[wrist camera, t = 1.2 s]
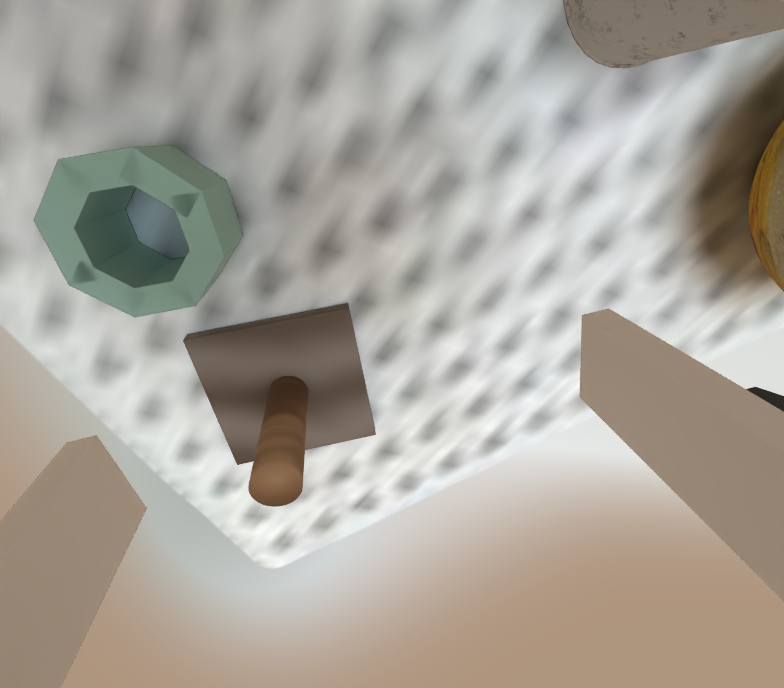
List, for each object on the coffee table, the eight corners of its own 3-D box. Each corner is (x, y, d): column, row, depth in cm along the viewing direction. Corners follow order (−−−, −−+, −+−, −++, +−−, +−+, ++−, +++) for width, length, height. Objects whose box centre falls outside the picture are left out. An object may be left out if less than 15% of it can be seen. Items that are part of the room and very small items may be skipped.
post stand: (187, 334, 30) (121, 428, 20) (347, 303, 31) (359, 378, 21) (239, 456, 36) (207, 575, 26) (374, 427, 36) (393, 532, 27)
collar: (74, 161, 24) (5, 167, 19) (213, 138, 25) (183, 138, 20) (134, 290, 28) (90, 325, 23) (254, 268, 29) (238, 297, 23)
